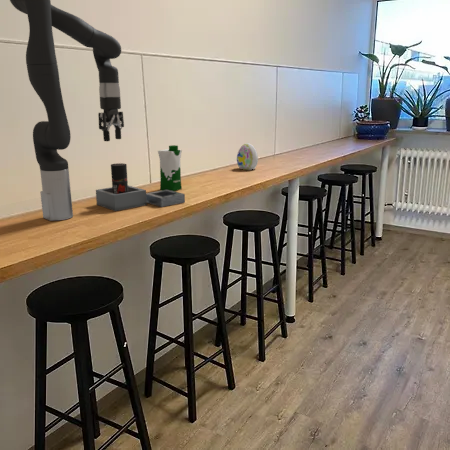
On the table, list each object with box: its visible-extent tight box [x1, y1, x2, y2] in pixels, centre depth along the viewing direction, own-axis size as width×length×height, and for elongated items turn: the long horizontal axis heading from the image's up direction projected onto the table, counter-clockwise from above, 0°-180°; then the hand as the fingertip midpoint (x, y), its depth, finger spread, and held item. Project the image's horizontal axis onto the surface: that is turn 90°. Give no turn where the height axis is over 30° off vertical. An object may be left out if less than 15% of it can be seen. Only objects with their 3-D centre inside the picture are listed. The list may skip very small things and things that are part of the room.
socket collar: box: [146, 190, 186, 208], centre depth 182 cm, size 12×12×4 cm
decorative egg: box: [236, 142, 259, 171], centre depth 261 cm, size 12×12×15 cm
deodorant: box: [110, 162, 129, 194], centre depth 175 cm, size 6×6×15 cm
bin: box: [95, 185, 148, 212], centre depth 177 cm, size 14×14×6 cm
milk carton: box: [157, 144, 183, 192], centre depth 203 cm, size 9×9×20 cm
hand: (112, 140), depth 172 cm, fingers open, 8 cm apart
